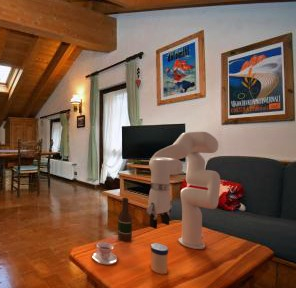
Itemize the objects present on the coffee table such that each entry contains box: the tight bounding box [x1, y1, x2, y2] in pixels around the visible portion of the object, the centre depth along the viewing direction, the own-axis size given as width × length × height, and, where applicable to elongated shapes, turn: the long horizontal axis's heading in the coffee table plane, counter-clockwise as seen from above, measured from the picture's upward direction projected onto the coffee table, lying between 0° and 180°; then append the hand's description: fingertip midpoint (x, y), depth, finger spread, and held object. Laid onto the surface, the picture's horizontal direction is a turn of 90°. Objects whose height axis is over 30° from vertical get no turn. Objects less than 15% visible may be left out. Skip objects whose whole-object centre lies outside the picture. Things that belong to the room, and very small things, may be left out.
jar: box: [150, 250, 169, 275], centre depth 97 cm, size 7×7×10 cm
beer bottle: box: [117, 197, 133, 243], centre depth 127 cm, size 8×8×24 cm
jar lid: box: [150, 242, 169, 255], centre depth 97 cm, size 7×7×2 cm
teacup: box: [91, 241, 118, 266], centre depth 105 cm, size 12×12×6 cm
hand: (159, 225), depth 96 cm, fingers open, 8 cm apart
